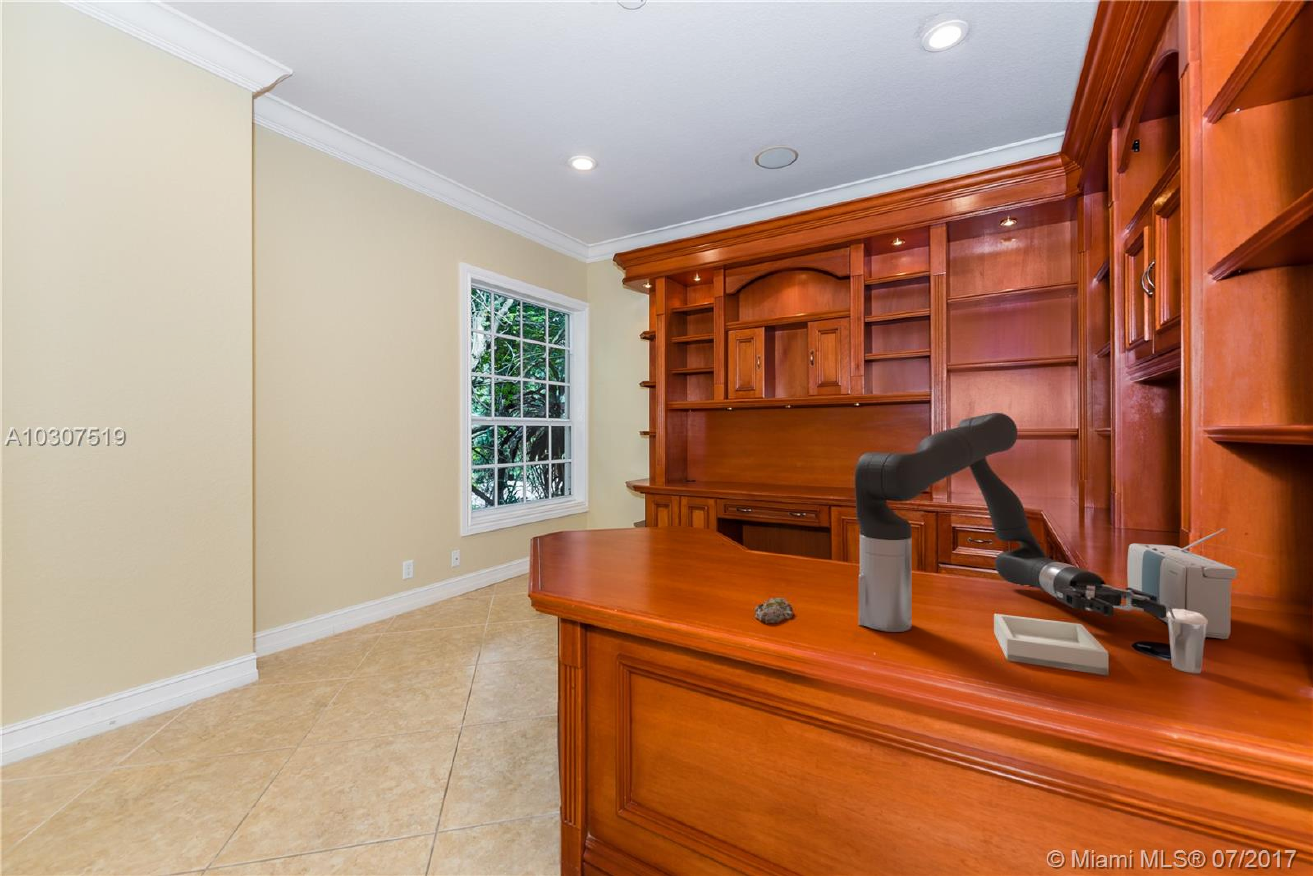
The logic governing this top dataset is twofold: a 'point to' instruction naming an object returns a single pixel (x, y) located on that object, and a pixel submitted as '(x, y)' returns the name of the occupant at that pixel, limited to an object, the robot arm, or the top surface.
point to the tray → (1050, 644)
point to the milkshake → (1186, 639)
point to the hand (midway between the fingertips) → (1137, 611)
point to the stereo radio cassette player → (1184, 582)
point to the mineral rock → (774, 610)
